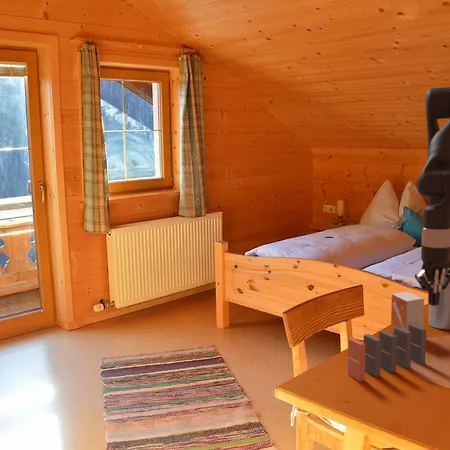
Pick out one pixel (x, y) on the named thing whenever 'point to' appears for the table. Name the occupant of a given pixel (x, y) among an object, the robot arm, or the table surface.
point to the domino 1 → (356, 359)
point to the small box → (406, 310)
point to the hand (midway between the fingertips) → (433, 304)
